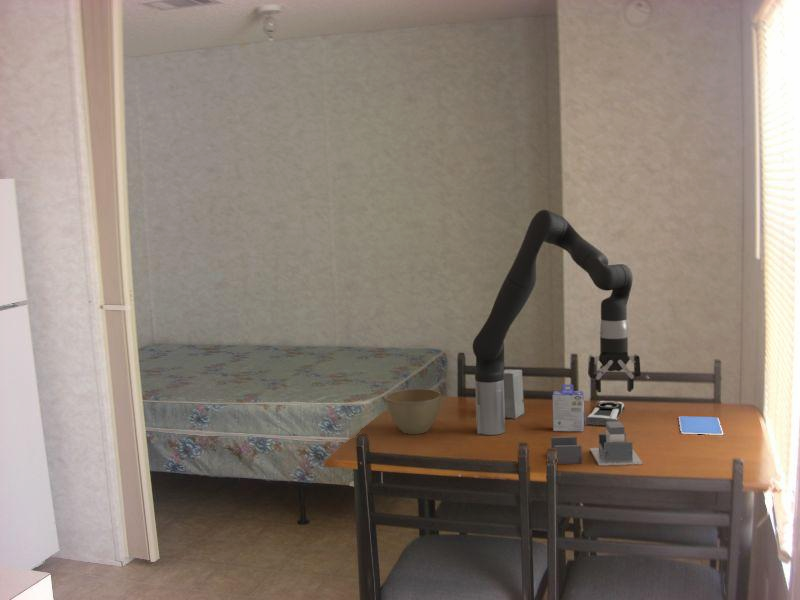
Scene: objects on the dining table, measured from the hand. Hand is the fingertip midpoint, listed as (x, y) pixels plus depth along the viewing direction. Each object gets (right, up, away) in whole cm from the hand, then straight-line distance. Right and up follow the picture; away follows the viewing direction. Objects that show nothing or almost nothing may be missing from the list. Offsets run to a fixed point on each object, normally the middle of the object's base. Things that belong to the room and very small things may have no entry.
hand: (614, 391), depth 230 cm
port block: (+1, -19, +2) cm, 19 cm away
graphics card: (+9, -14, +45) cm, 48 cm away
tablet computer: (+35, -15, +28) cm, 48 cm away
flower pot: (-56, -18, +38) cm, 70 cm away
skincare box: (-22, -14, +52) cm, 58 cm away
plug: (+1, -19, +2) cm, 19 cm away
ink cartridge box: (-6, -16, +32) cm, 36 cm away
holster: (-13, -20, +3) cm, 24 cm away
